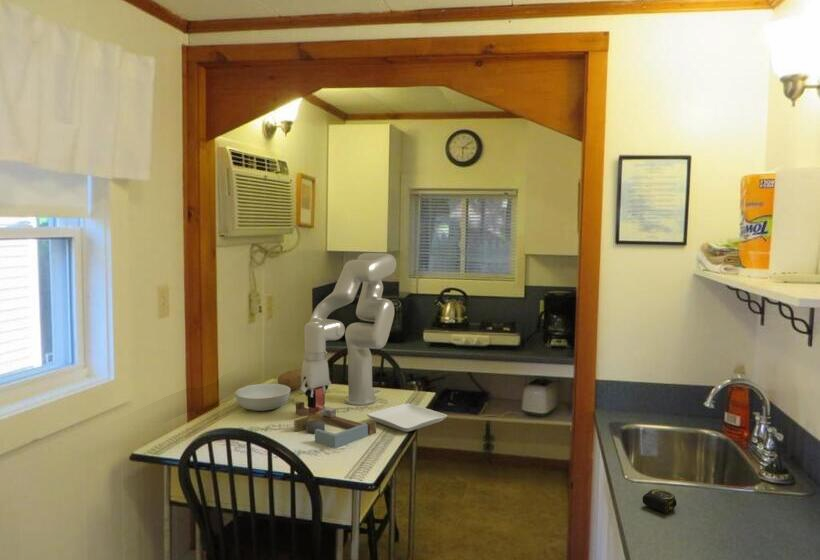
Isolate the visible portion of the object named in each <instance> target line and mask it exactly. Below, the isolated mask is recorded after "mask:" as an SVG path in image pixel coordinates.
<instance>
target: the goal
mask: <svg viewBox="0 0 820 560" xmlns="http://www.w3.org/2000/svg"><path fill="white" fill-rule="evenodd" d="M368 436H369V435H368V424H367V423H362V425H359V426H356V427H354V428H351V429H345V430H342V431H339V432H337V433H333V432H330V431H327V430H325V431H324V430H320V429H316V430H315V434H314V442H315V443H317V444H321V445H324V446H327V447H329V448H333V449H338V448H340V447H343V446H345V445H349V444H351V443H354V442H356V441H358V440H362V439H364V438H366V437H368Z"/></svg>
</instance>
